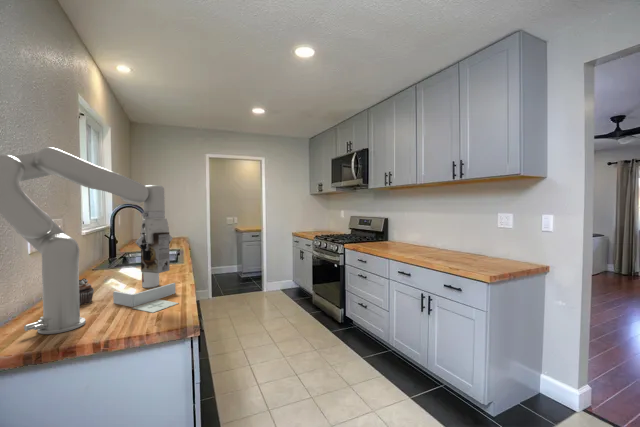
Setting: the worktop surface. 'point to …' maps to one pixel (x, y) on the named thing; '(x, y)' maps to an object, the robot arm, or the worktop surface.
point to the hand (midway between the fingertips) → (155, 258)
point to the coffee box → (157, 254)
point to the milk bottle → (150, 279)
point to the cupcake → (85, 291)
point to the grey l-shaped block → (143, 295)
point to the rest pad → (155, 306)
